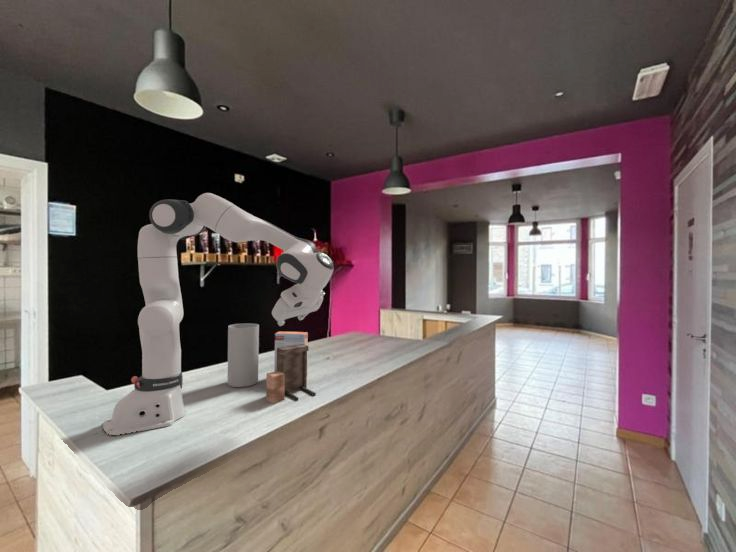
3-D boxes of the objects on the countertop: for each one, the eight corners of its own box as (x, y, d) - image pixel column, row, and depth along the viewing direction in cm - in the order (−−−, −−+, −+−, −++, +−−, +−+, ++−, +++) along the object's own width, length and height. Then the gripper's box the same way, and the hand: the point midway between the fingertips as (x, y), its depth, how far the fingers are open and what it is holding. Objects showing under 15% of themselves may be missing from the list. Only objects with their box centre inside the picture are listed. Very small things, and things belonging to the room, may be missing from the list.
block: (272, 403, 127) (272, 376, 127) (266, 399, 131) (266, 373, 131) (284, 400, 131) (284, 374, 131) (278, 396, 134) (278, 370, 134)
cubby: (292, 401, 129) (293, 354, 129) (276, 392, 139) (277, 347, 138) (319, 394, 137) (320, 349, 137) (302, 385, 147) (302, 344, 147)
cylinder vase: (262, 378, 155) (262, 323, 155) (252, 388, 143) (252, 328, 142) (234, 378, 155) (235, 323, 155) (222, 387, 143) (223, 327, 142)
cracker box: (307, 376, 160) (308, 331, 160) (304, 380, 154) (304, 334, 154) (278, 374, 162) (279, 330, 161) (273, 378, 156) (274, 332, 155)
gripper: (321, 284, 128) (306, 310, 135) (277, 292, 112) (262, 321, 118) (331, 295, 126) (315, 321, 132) (288, 305, 109) (272, 334, 116)
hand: (290, 321), depth 125 cm, fingers open, 8 cm apart
